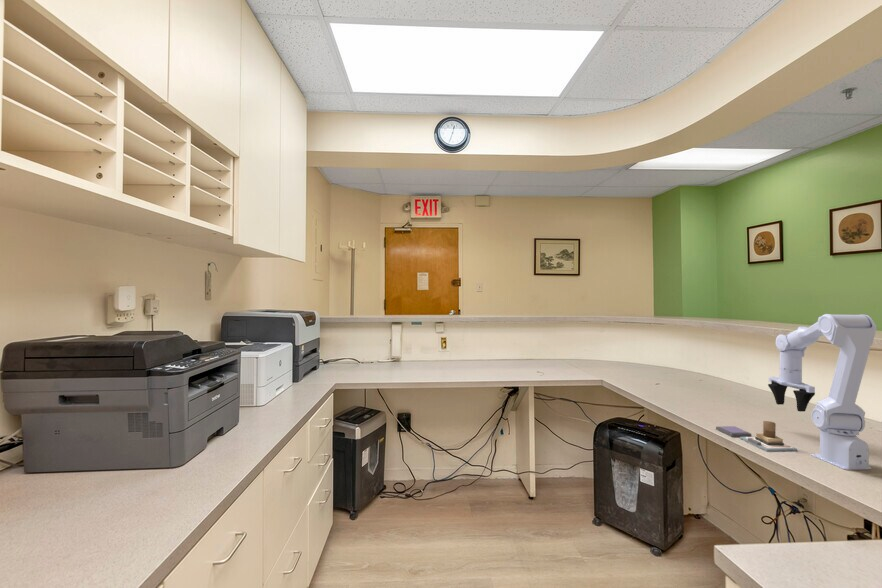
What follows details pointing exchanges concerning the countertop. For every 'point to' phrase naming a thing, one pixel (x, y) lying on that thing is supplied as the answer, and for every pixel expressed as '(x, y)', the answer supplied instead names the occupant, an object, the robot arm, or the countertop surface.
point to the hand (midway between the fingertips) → (790, 407)
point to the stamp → (769, 434)
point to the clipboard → (768, 447)
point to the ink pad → (733, 431)
